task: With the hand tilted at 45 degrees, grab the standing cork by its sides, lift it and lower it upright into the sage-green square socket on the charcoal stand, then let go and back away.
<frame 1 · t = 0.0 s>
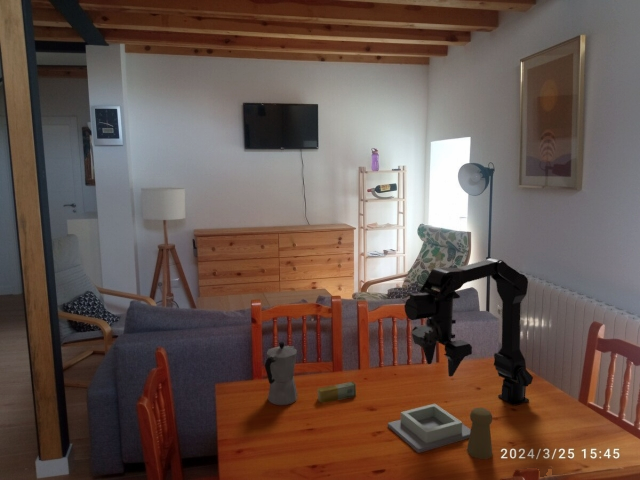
hand: (439, 369, 135), 15 cm above the table, tool pointing down, fingers open, 9 cm apart
cork: (479, 452, 122), on the table
medication box: (336, 399, 151), on the table
coffeepot: (280, 400, 149), on the table
socket stand: (430, 431, 131), on the table
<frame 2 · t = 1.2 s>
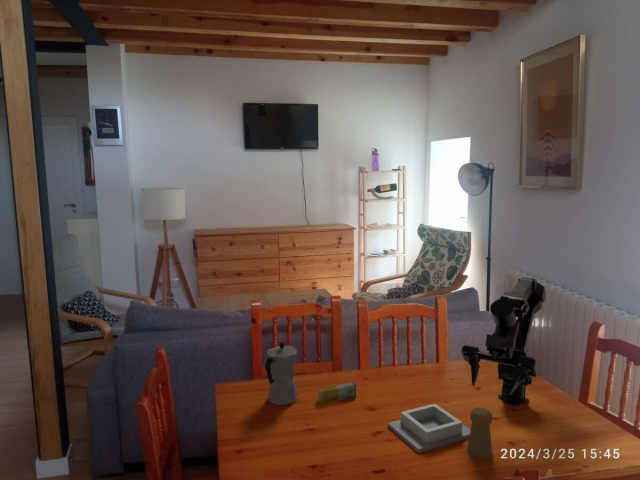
hand: (490, 389, 126), 13 cm above the table, tool tilted 45°, fingers open, 9 cm apart
nothing on the table moved.
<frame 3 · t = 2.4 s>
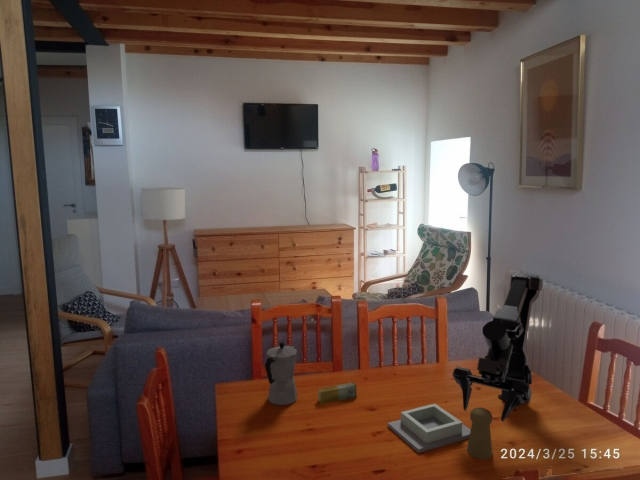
hand: (482, 415, 121), 9 cm above the table, tool tilted 45°, fingers open, 9 cm apart
nothing on the table moved.
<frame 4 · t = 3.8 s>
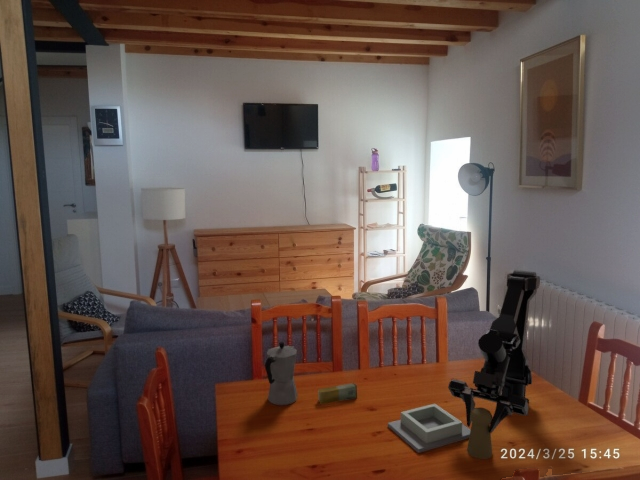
hand: (478, 429, 119), 7 cm above the table, tool tilted 45°, fingers closed on cork, 5 cm apart
cork: (479, 452, 122), on the table, touching gripper
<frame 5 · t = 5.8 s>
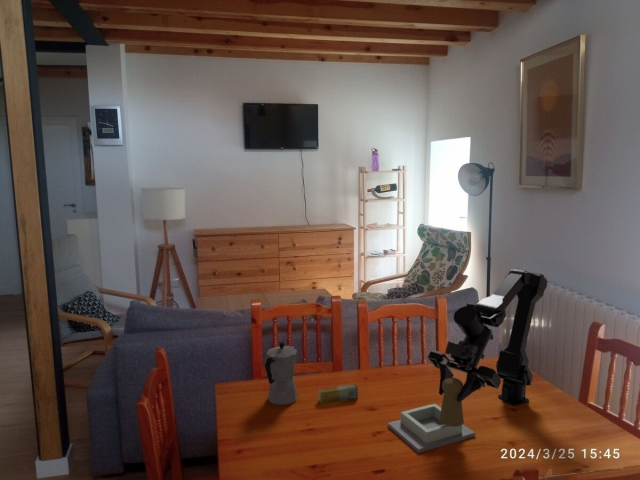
hand: (449, 397, 124), 12 cm above the table, tool tilted 45°, fingers closed on cork, 5 cm apart
cork: (451, 421, 126), point 5 cm above the table, touching gripper
when the fingers open (9 cm above the table, at t = 7.6 s): cork drops 1 cm, resting on socket stand.
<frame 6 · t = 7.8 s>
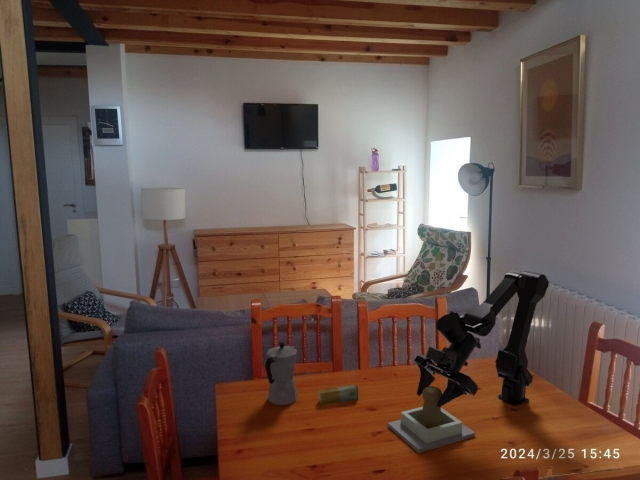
hand: (427, 400, 129), 9 cm above the table, tool tilted 45°, fingers open, 7 cm apart
cork: (431, 428, 131), point 1 cm above the table, touching socket stand
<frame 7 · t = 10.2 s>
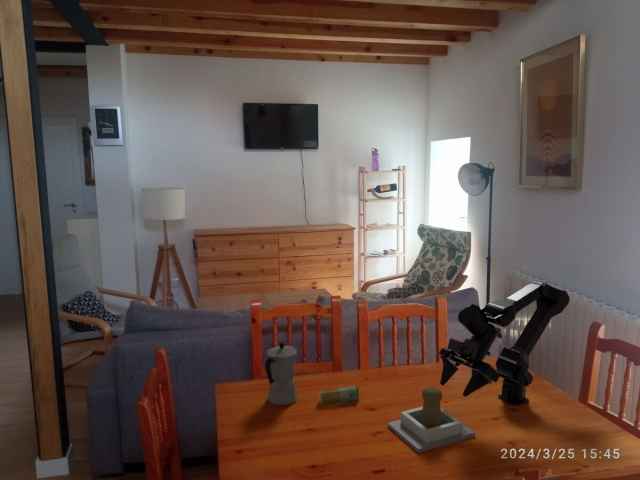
hand: (452, 390, 135), 9 cm above the table, tool tilted 40°, fingers open, 9 cm apart
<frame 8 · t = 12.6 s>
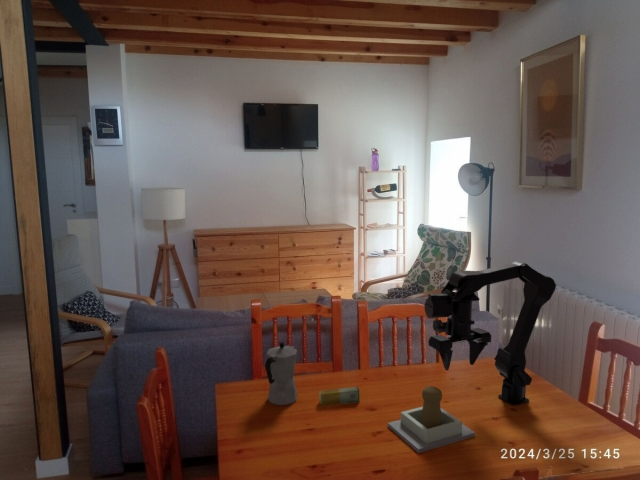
hand: (459, 367, 143), 12 cm above the table, tool pointing down, fingers open, 9 cm apart
at the end: cork 0.2 cm off-centre on the socket stand, point 0.8 cm above the socket stand's base; cork tilted 0°; the gripper is holding nothing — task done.
